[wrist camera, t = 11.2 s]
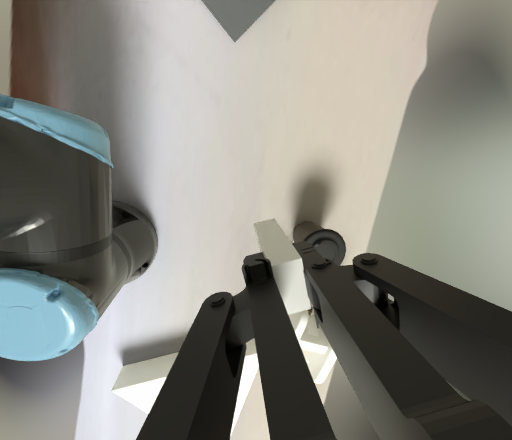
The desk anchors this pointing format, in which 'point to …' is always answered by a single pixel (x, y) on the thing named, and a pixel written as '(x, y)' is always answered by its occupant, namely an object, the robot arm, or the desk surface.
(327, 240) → the coffee cup
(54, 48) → the desk surface
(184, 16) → the desk surface
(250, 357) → the triangle block
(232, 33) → the mat
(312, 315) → the cable organizer
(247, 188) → the desk surface
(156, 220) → the desk surface
